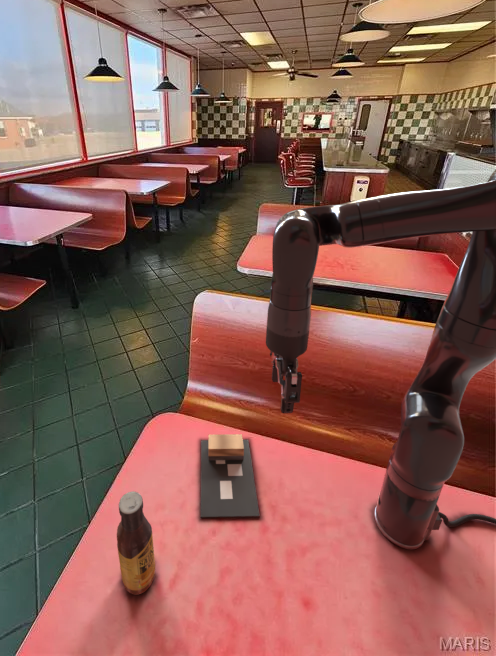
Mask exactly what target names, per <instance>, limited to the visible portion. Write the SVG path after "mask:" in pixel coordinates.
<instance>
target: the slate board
mask: <svg viewBox="0 0 496 656" xmlns="http://www.w3.org/2000/svg"><path fill="white" fill-rule="evenodd" d="M200 442H201V443H200V450H201V451H200V519H227V518H230V519H231V518H232V519H234V518H236V519H237V518H260V517H261V515H260V509H259V502H258V497H257V496H258V495H257V489H256V481H255V474H254V468H253V462H252V454H251V449H250V441H249V439H243V445H244V459H243V460H209V449H208V439H201V441H200Z"/></svg>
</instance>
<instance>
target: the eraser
mask: <svg viewBox="0 0 496 656" xmlns="http://www.w3.org/2000/svg"><path fill="white" fill-rule="evenodd" d="M207 436H208V439H207V440H208V449H209V460H243V459H244V445H243V440H244V439H243V434H242V433H235V434H234V433H233V434H230V433H229V434H228V433H226V434H225V433H224V434H222V433H221V434H208V435H207Z"/></svg>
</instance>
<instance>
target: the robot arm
mask: <svg viewBox="0 0 496 656" xmlns="http://www.w3.org/2000/svg"><path fill="white" fill-rule="evenodd" d="M460 233H471V236H470V239H469V243H468V245H467V247H466V251H465V253H464V256H463V258H462V260H461V263H460V264H459V267H458V269H457V272H456V274H455V276H454V279H453V282H452V284H451V287H450V289H449V291H448V294H447V296H446V297H445V300H444V302H443V305H442V307H441V309H440V312H439V315H438V317H437V319H436V322H435V325H434V328H433V331H432V333H431V337H430V339H429V343H428V345H427V349H426V352H425V356H424V359H423V362H422V364H421V366H420V368H419V370H418V372H417V374H416V376H415V377H414V378H413V381H412V382H411V384H410V385H409V387H408V388H407V390H406V392H405V394H404V396H403V397H402V401H401V404H400V427H399V431H398V437H397V439H396V440H397V441H396V442H395V443H393V445H392V447H391V451H390V455H389V458H388V462H387V465H386V470H385V473H384V477H383V479H382V484H381V488H380V491H379V494H378V496H377V497H378V498H377V503H376V506H375V508H374V513H373V517H374V521H375V524H376V526H377V528H378V529H379V531H380V533H381V534H382V535H383V536H384V537H385V538H386V539H387V540H388V541H389V542H390V543H392V544H393V545H395V546H397V547H399V548H402V549H406V550H416V549H418V548H420V547H421V546H423V544H424V541H429V539H430V537H431V534H432V531H439V530H440V527H441V525H442V522H443V523H444V524H443V525H445V526H447V527H448V528H455V527H458V526H461V525H463V524H464V523H467V522H469V521H473V520H475V521H485V522H487V523H488V522H489V523H491V524H495V525H496V518H495V517H493V516H489V515H486V514H485V515H484V514H481V513H480V514H479V513H468V514H465V515H463V516H460V517H458V518H456V519H454V520H451V521H450V520H449V518H448V516H447V515H446V514H445V513H443V512H441V511H440V508H439V505H438V501H439V498H440V496H441V493H442V491H443V487H444V484H445V482H447V481H448V480H450V479H451V477H452V476H453V474H454V472H455V469H456V468H457V465H458V463H459V461H460V459H461V456H462V453H463V450H464V448H465V447H464V446H465V435H464V430H463V426H462V421H461V417H460V406H461V403H462V400H463V396H464V394H465V391H466V389H467V387H468V385H469V382H470V381H471V379H472V378H474V377H475V375H477V374H478V373H479V372H480V371H482V370H484V369H485V368H486V367H488V366H489V365H490V364H492V363H493V362H494V361H495V360H496V169H494V170H493V172H492V173H491V175H489V178H488V180H487V181H485V182H481V183H476V184H471V185H464V186H458V187H451V188H450V187H449V188H443V189H442V188H441V189H430V190H429V189H428V190H414V191H413V190H412V191H402V192H394V193H393V192H392V193H388V194H382V195H376V196H371V197H366V198H362V199H357V200H353V201H348V202H344V203H340V204H328V205H319V206H309V207H303V208H297V209H293V210H290V211H288V212H286V213H284V214H283V215H281V217H280V218H279V219H278V220H277V222H276V224H275V228H274V231H273V235H272V250H271V253H272V254H271V256H272V257H271V258H272V259H271V260H272V263H271V264H272V275H271V280H270V292H269V293H270V294H269V302H268V306H267V314H266V328H265V329H266V331H265V346H266V348H267V349H268V350H269V351H270V352H269V356H270V359H271V365H272V367H271V368H272V369H271V381H272V383H278V384H279V385H280V392H281V394H280V396H281V399H280V408H279V409H280V412H281V414H293V413H294V407H295V404H300V401H301V392H302V380H303V374H302V372H301V371H298V368H299V359H298V358H299V357H300V356H302V355H304V354H305V353H306V352H307V350H308V346H309V345H308V344H309V337H310V330H311V329H310V327H311V321H312V299H313V291H314V275H315V272H316V266H317V262H318V257H319V252H320V247H322V246H331V245H339V246H341V247H343V248H348V249H350V248H352V249H353V248H359V247H360V248H361V247H367V246H372V245H379V244H385V243H391V242H397V241H402V240H409V239H415V238H423V237H430V236H441V235H448V234H460Z"/></svg>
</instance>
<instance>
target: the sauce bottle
mask: <svg viewBox="0 0 496 656" xmlns="http://www.w3.org/2000/svg"><path fill="white" fill-rule="evenodd" d="M118 513H119V515H120V522H119V523H118V526H117V529H116V546H117V547H116V548H117V555H118V561H119V568H120V574H121V576H120V577H121V581H122V583H123V586H124V588H125V590H126V591H127V592H128V593H129V594H131V595H136V596H137V595H141V594H143V593H145V592H146V591H147V590H148V589H149V588H150V587H151V585H152V583H153V581H154V579H155V572H156V558H155V549H154V538H153V537H154V536H153V528H152V524H151V523H150V522H149V520H148V519H147V518H146V516H145V514H144V500H143V496H142V495H141V493H139V492H138V491H135V490H133V491H128V492H126V493H125V494H123V495H122V497H120V499H119V502H118Z"/></svg>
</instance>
